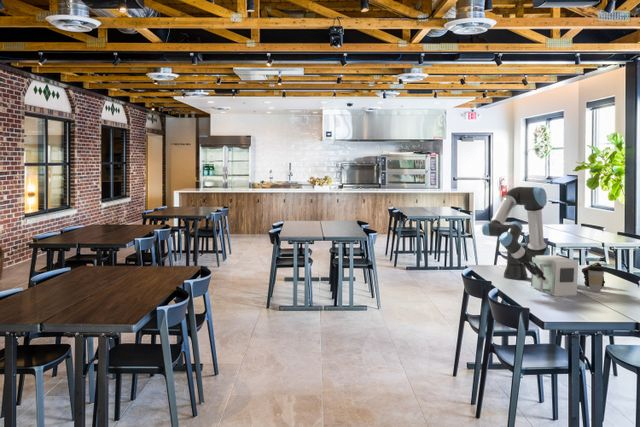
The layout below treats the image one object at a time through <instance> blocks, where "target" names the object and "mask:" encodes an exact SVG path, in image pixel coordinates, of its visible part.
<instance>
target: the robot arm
mask: <svg viewBox="0 0 640 427" xmlns="http://www.w3.org/2000/svg"><path fill="white" fill-rule="evenodd" d="M547 199H548V197H547V193H546V189H544V188H543V187H537V186H517V187H513V188H511V189H510V190H508V191H506V193H504V194H503V195H502V196H501V199H500V204H499V205H498V207H497V209H496V211H495V213H494V215H492V218H491V219H490V221H489V222H485V223H483V225H482V227H481V230H482V231H481V232H482V234H483V236H487V237H498V241H499V243H500V244H501V246H502V247H503V248H504V249H506V251H507V253H506V255H507V256H506V267H505V270H504V272H503V277H504V278H506V279H509V280H527V279H528V278H529V277H528V272H527V271H529V273H530V274H531V275H532V274H533V275H535V276H536V278H537V279H538V280H539V281H540V279H541V280H542V281H543V282H544V284H545V285H547V284H548V283H549V281H548V279H547V278H546V277H545V276H544V275H543V274H544V273H543V272H542V271H541V270H540V269H539V267H538V266H537V265H536V263H533V262H532V257H535V256H540V255H550V254H551V249H550V247H548V246H547V243H546V242H545V241H544V229H543V213H542V211H543V209H544V208H545V206H546V205H547V201H548V200H547ZM516 206H523V207H524V210H526V212H527V224H528V225H527V226H528V236H529V237H528V238H529V242H528V243H525V242H518V241H519V238H520V236H521V234H523V233H522V232H523V229H524V228H523V227H524V226H523V224H522V223H521V222H519V221H511V222H510V223H509V224H505V222H506V220H507V218H508V217H509V216H510V213H511V211H512V209H514V208H515V207H516Z"/></svg>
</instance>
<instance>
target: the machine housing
mask: <svg viewBox="0 0 640 427" xmlns="http://www.w3.org/2000/svg"><path fill="white" fill-rule="evenodd" d="M535 257H536V258H539V259H543V260H546V261H549V262H553V263H555V276H554V294H550V293H548V292H545V293H546V294H549V295H551V296H555V297H556V296H557V297H558V296H559V297H560V296H577V295H578V292H577V291H578V273H579V260H575V259H571V258H567V257H564V256H560V255H557V254H556V255H552V254H551V255H540V256H535ZM533 288H534V289H536V290H539V289H538V288H535V287H533Z"/></svg>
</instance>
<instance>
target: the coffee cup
mask: <svg viewBox="0 0 640 427" xmlns="http://www.w3.org/2000/svg"><path fill="white" fill-rule="evenodd" d="M588 266H589V268H588V269H587V270H588V273H589V274H588V278H589V287H588V289H589V292H591V293H595V294H596V293H597V294H598V293H601V291H602V287H601V286H602V282H603V276H604V275H605V268H604V266H602V265H601V266H590V265H588ZM604 277H605V276H604Z"/></svg>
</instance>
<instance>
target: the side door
mask: <svg viewBox="0 0 640 427" xmlns="http://www.w3.org/2000/svg"><path fill="white" fill-rule="evenodd" d="M532 262H533V263H536V265H537V266H538V267H539V269H540V270H541V271H542V272H543V273H544V274H543V275H544V276H545V277H546V278H547V279H548V281H549V283H548V284H547V285H545V284H544V282H543V281H542V280H541V279H540V281H539V280H538V279H537V278H536V276H535V275H533V274H531V278H530V279H531V280H530V281H531V282H530V286H531V287H533V288H534V287H535V288H534V289H536V288H538V289H537V290H538V292H540V293H546V292H548V293H547V294H549V293H550V294H549V295H551V294H554V276H555V263H553V262H549V261H546V260H543V259H539V258H536V257H532Z"/></svg>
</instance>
